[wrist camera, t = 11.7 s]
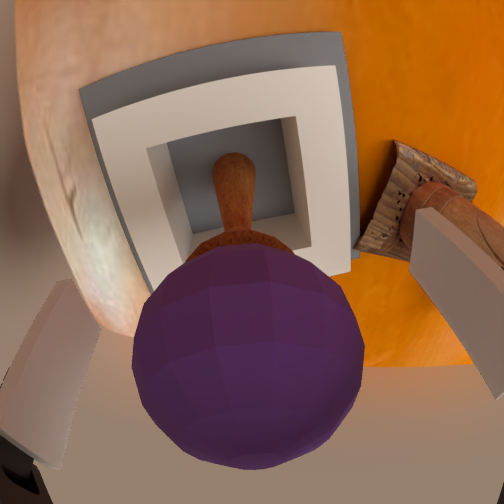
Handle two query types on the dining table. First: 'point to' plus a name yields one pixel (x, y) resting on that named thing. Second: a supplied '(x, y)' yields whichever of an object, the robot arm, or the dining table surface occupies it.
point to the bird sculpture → (427, 195)
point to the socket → (232, 147)
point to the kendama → (246, 343)
